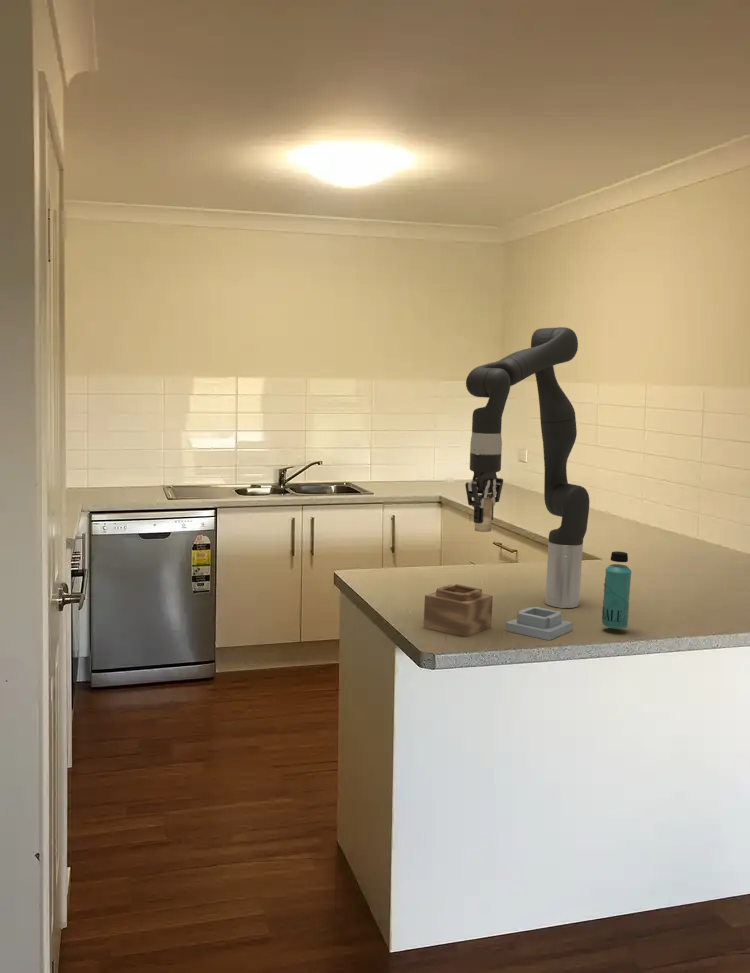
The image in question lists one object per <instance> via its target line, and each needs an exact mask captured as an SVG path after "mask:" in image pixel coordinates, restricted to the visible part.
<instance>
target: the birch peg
mask: <svg viewBox="0 0 750 973" xmlns="http://www.w3.org/2000/svg"><path fill="white" fill-rule="evenodd" d="M479 502H480V498H479ZM492 521H493V520H492V498H490V497H487V498H486V499H485V500H484V505H483V523H475V522H474V532H480V533H490V532H491V531H492Z"/></svg>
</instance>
